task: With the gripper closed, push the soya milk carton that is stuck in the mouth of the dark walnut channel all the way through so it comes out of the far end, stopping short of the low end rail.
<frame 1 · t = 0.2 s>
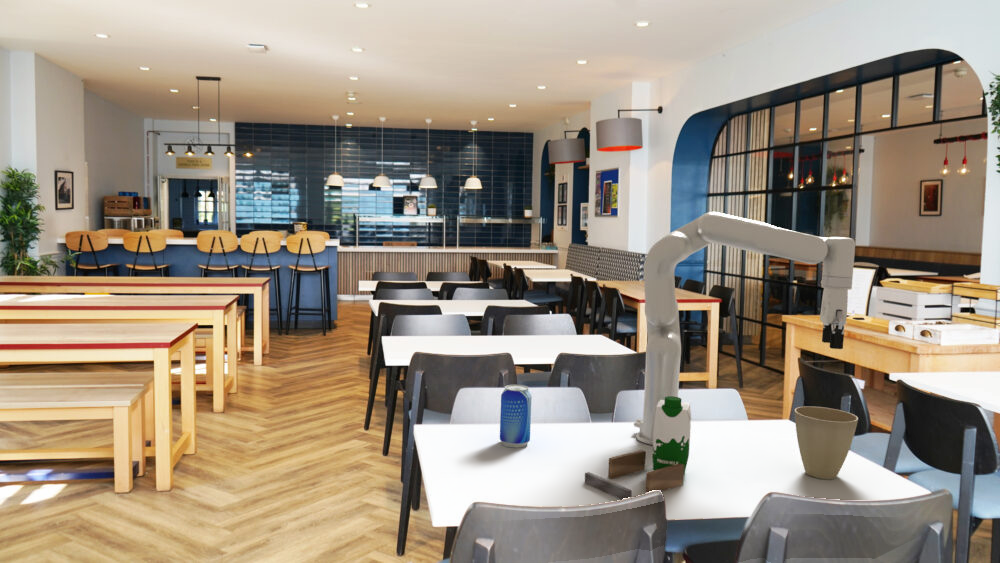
hand: (832, 345, 207), 31 cm above the table, tool pointing down, fingers open, 9 cm apart
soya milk: (669, 475, 191), on the table
beer can: (514, 444, 212), on the table
plant pot: (821, 475, 195), on the table
chute: (645, 481, 186), on the table
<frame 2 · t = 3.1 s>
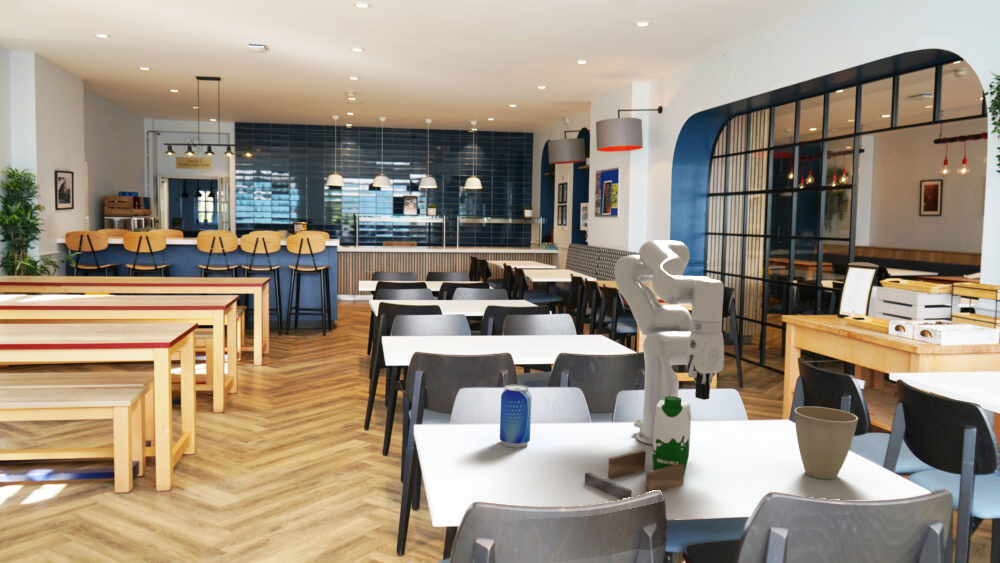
hand: (702, 398, 196), 18 cm above the table, tool pointing down, fingers closed
nothing on the table moved.
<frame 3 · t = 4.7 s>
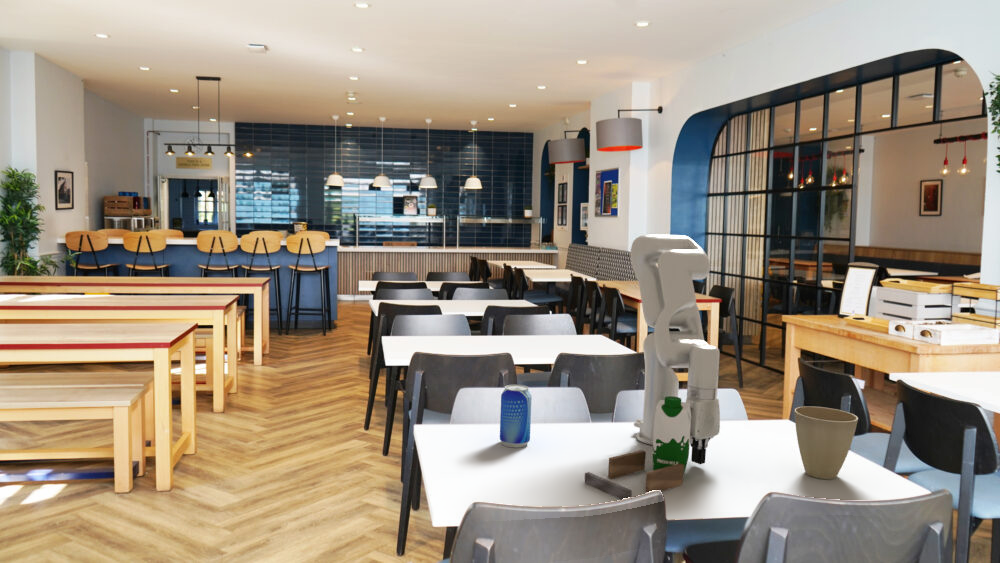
hand: (698, 462, 198), 1 cm above the table, tool pointing down, fingers closed
nothing on the table moved.
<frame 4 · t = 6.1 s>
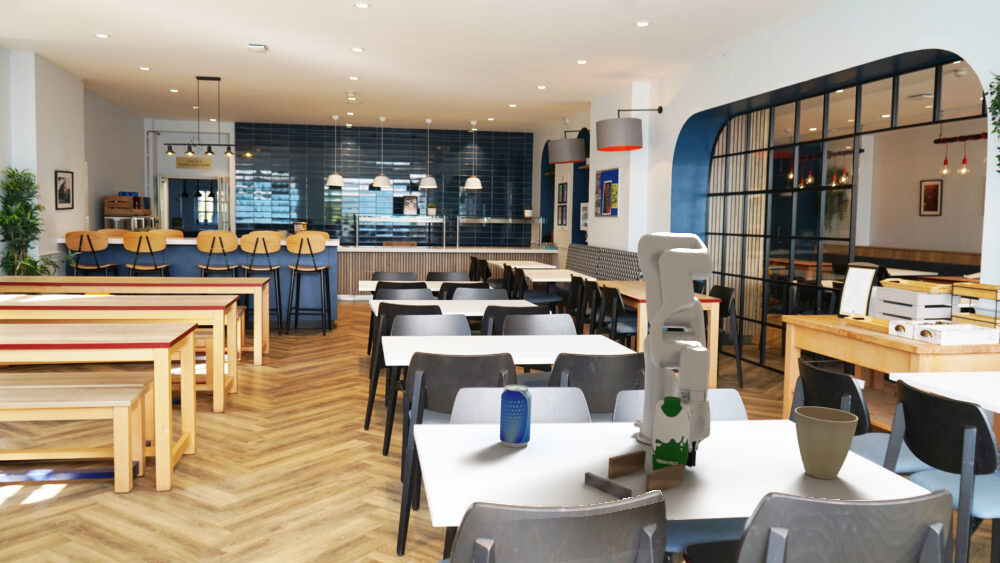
hand: (688, 465, 195), 1 cm above the table, tool pointing down, fingers closed
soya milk: (668, 475, 191), on the table, touching gripper
everything else where it was.
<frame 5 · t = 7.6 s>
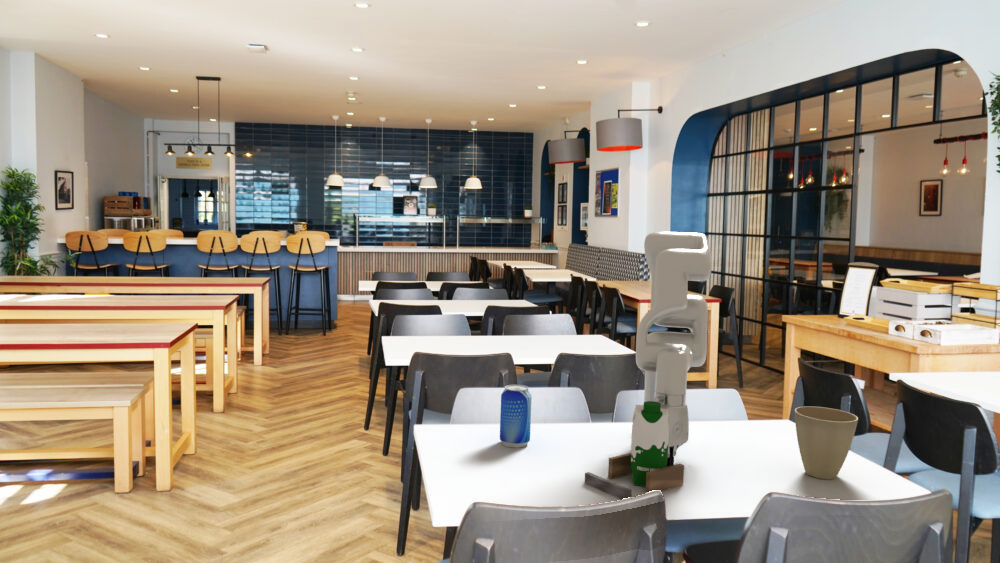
hand: (666, 471, 190), 1 cm above the table, tool pointing down, fingers closed
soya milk: (647, 482, 186), on the table, touching gripper
everything else where it was.
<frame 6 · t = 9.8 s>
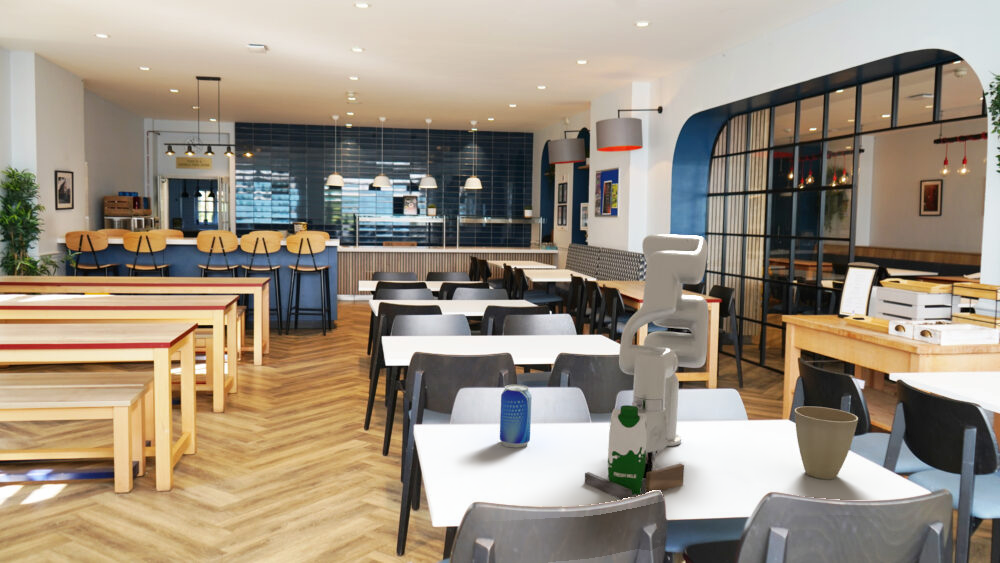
hand: (644, 477, 186), 1 cm above the table, tool pointing down, fingers closed
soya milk: (625, 488, 181), on the table, touching chute, gripper
everything else where it was.
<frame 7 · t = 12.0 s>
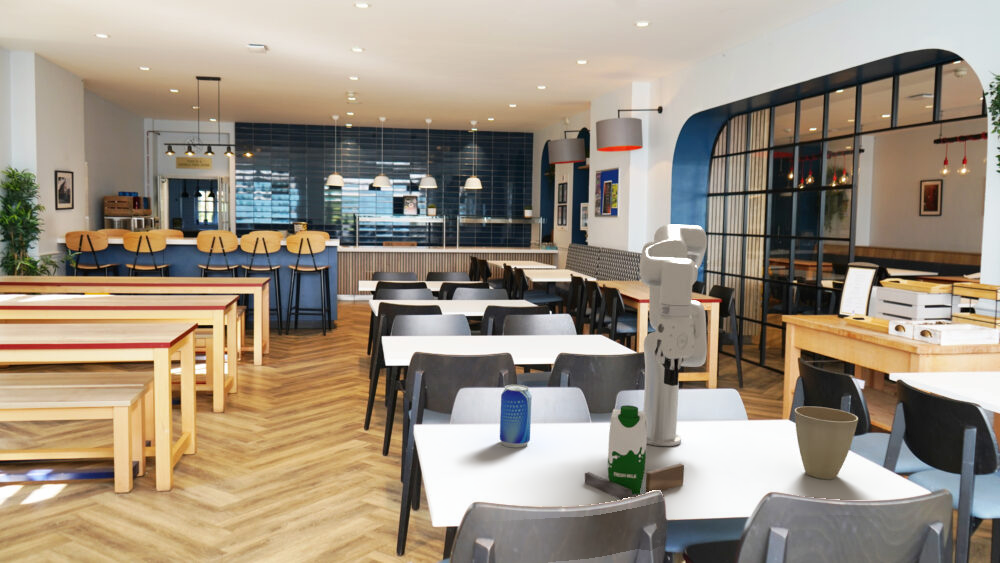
hand: (670, 384, 189), 23 cm above the table, tool pointing down, fingers closed
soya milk: (625, 488, 181), on the table
everything else where it was.
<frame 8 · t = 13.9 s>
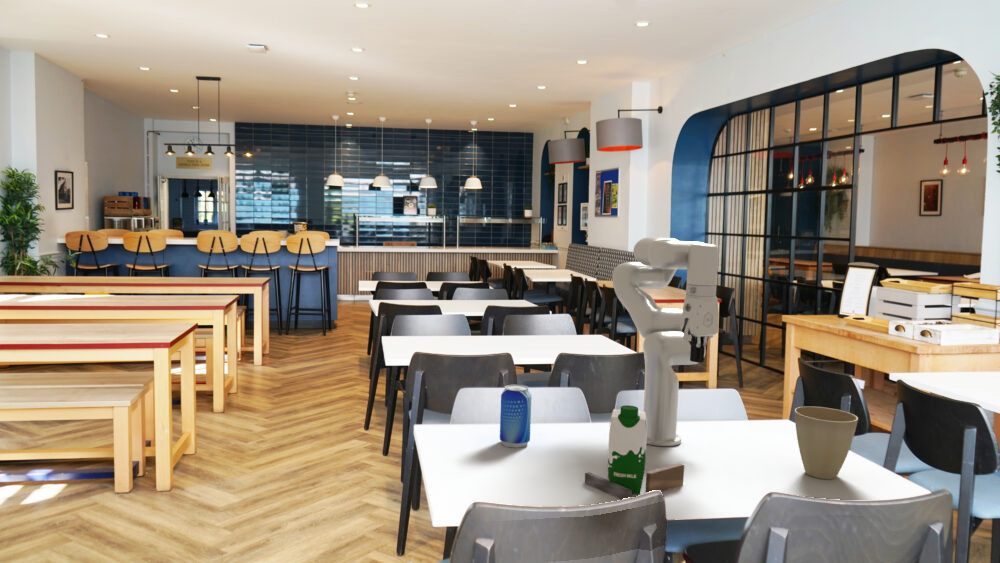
hand: (696, 361, 198), 27 cm above the table, tool pointing down, fingers closed
nothing on the table moved.
at the end: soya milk inside the target area (0.8 cm from its centre), on the table; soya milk tilted 0°; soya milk moved 16.4 cm from its start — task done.
